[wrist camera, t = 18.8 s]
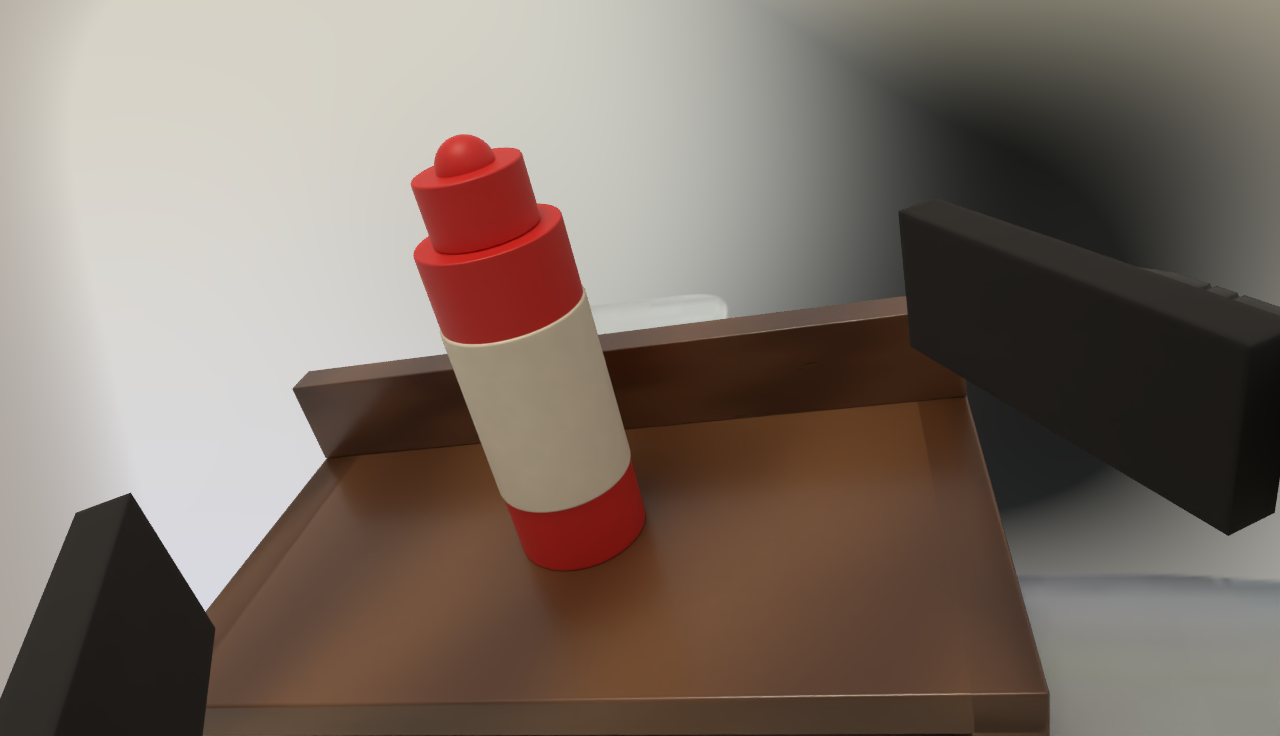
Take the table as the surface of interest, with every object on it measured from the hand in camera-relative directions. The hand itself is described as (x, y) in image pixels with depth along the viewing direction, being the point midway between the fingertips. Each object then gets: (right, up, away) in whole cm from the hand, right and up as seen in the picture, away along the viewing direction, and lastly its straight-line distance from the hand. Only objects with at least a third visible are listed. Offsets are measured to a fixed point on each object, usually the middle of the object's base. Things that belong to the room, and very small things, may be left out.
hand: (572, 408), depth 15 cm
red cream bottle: (0, -4, +10) cm, 11 cm away
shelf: (+2, -12, +15) cm, 19 cm away
